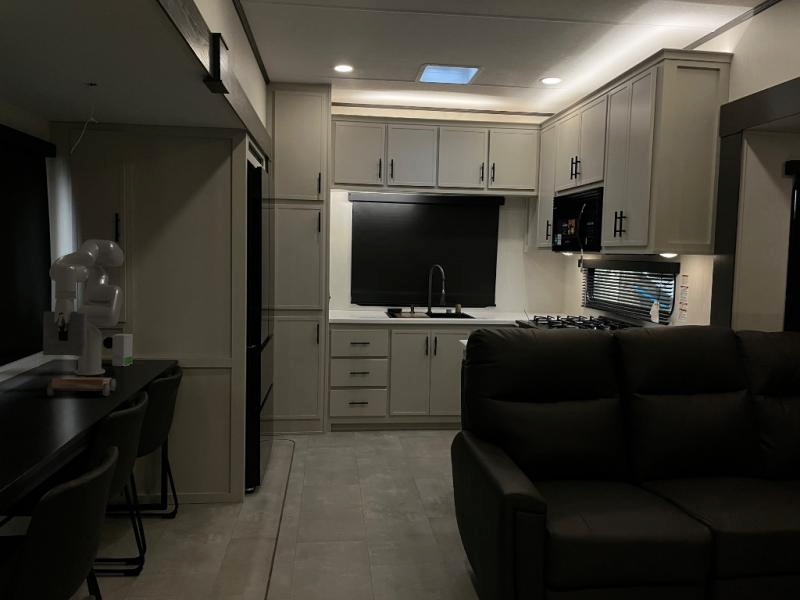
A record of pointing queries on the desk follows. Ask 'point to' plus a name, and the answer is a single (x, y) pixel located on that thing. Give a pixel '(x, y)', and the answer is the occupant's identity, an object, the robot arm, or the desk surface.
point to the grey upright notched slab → (75, 335)
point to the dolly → (82, 385)
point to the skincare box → (122, 349)
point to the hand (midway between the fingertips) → (65, 339)
